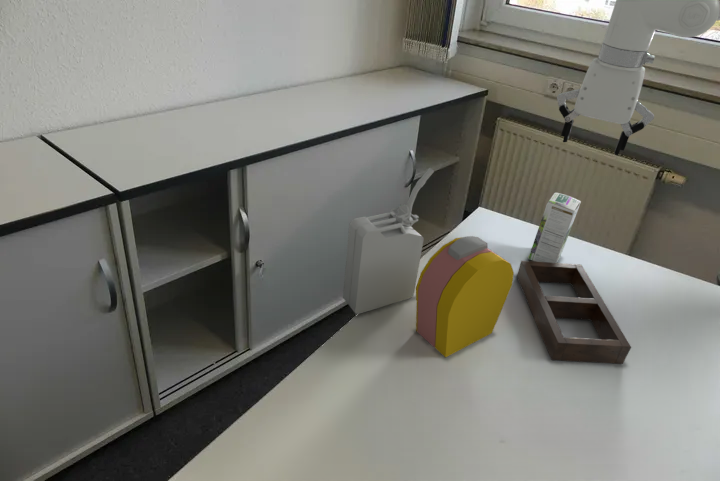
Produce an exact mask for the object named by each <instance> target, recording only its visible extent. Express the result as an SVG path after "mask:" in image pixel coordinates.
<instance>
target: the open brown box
mask: <svg viewBox="0 0 720 481" xmlns="http://www.w3.org/2000/svg"><path fill="white" fill-rule="evenodd" d="M589 276H590V275H589V274H588V272H587V271H586V269H585V268H584V266H583V265H582V264H581V263H579V264H578V263H566V262H565V263H564V262H563V263H562V262H557V263H550V262H535V261H532V260H520V263H519V267H518V269H517V273H516V279H517V282H518V284H519V286H520V288H521V291H522V293H523V295H524V298H525V300H526V302H527V305H528V307H529V310H530V312H531V314H532V316H533V319H534V321H535V324H536V326H537V329H538V331H539V334H540V336H541V338H542V340H543V343H544V347H545V349H546V350H547V353H548V355H549V357H550V360H552V361H562V362H563V361H564V362H581V363H597V364H599V363H601V364H618V365H624V363H625V361H626V358H627V356H628V355H629V353H630V350H631V349H632V346H631V344H630V342H629V341H628V339H627V337H626V336H625V334H624V332H623V330H622V329H621V328H620V326H619V324H618V323H617V321H616V320H615V318H614V316H613V315H612V313H611V311H610V309H609V308H608V305H607V304H606V303H605V301H604V300H603V297H602V296H601V294H600V293H599V291H598V289H597V288H596V286H595V285H594V283H593V281H592V280H591V278H590V277H589ZM540 283H550V284H563V285H564V284H567V285H571V286H572V288H573V290H574V292H575V294H576V295H577V297H573V296H560V295H559V296H558V295H557V296H555V295H545V294H544V291H543V289H542V287H541V284H540ZM557 319H563V320H565V319H566V320H581V321H582V320H583V321H590V322H591V323H592V325H593V327H594V329H595V331H596V332H597V334H598V336H599V338H588V337H587V338H585V337H568V336H564V335H563V331H562V330H561V328H560V326H559V323H558V321H557Z"/></svg>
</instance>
